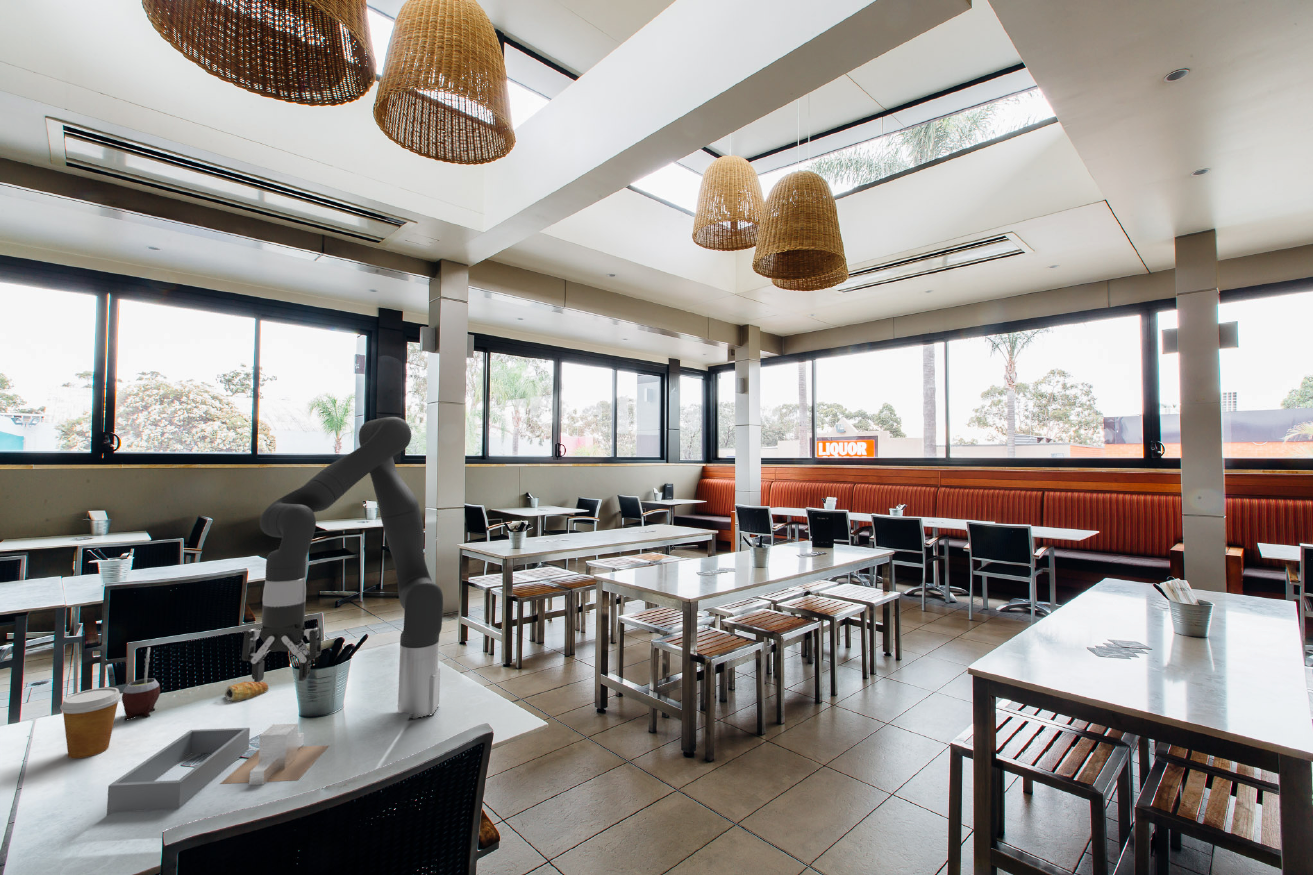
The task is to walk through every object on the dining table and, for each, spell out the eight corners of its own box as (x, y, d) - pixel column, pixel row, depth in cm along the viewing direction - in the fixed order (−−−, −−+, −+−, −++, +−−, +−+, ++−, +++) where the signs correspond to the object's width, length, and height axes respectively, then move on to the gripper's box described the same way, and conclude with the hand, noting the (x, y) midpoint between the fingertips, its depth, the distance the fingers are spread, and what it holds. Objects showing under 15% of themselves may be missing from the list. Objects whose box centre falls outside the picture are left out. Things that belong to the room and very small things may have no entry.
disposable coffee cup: (129, 745, 129) (132, 690, 130) (74, 766, 120) (77, 706, 121) (101, 738, 132) (104, 684, 133) (46, 758, 123) (49, 700, 124)
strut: (285, 745, 127) (286, 713, 127) (309, 744, 128) (310, 712, 128) (242, 785, 111) (243, 748, 112) (270, 784, 112) (271, 747, 112)
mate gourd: (133, 723, 140) (136, 659, 140) (111, 718, 142) (115, 655, 143) (167, 710, 147) (170, 650, 148) (146, 706, 149) (149, 646, 150)
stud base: (329, 752, 127) (330, 722, 127) (297, 787, 113) (298, 754, 114) (260, 755, 126) (261, 725, 126) (219, 791, 112) (221, 758, 112)
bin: (189, 758, 124) (190, 729, 124) (248, 756, 125) (249, 727, 125) (106, 820, 102) (108, 785, 103) (178, 816, 104) (180, 782, 104)
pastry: (261, 687, 163) (262, 673, 163) (272, 693, 159) (273, 679, 160) (222, 698, 155) (222, 683, 156) (233, 704, 152) (233, 689, 152)
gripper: (328, 596, 126) (325, 673, 125) (258, 596, 124) (254, 674, 123) (312, 604, 118) (308, 686, 117) (236, 605, 117) (232, 688, 116)
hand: (280, 680), depth 120 cm, fingers open, 8 cm apart
